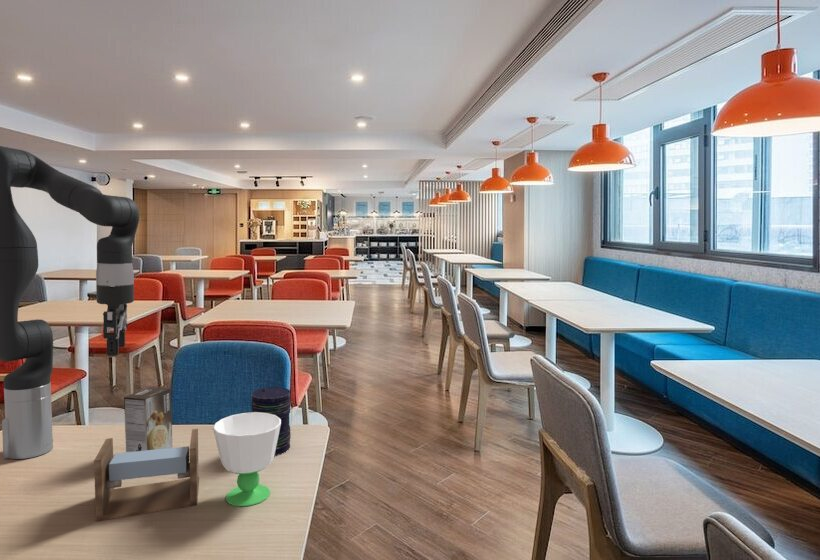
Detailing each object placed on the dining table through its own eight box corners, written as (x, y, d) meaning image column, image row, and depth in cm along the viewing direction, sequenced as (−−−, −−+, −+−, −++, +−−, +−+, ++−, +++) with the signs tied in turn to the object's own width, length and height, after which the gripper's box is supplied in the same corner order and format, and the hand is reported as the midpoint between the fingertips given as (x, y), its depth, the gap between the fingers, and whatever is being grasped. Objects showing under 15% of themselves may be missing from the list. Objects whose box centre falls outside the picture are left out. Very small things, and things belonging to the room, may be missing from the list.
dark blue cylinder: (298, 446, 131) (298, 391, 130) (269, 460, 122) (269, 401, 121) (272, 437, 136) (272, 384, 135) (243, 450, 128) (242, 393, 127)
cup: (293, 486, 110) (294, 416, 108) (255, 518, 97) (255, 440, 95) (242, 475, 114) (241, 408, 113) (199, 505, 101) (198, 430, 100)
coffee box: (151, 445, 129) (150, 385, 128) (173, 448, 128) (172, 387, 127) (124, 460, 120) (123, 396, 119) (147, 463, 119) (146, 398, 118)
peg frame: (95, 521, 95) (93, 460, 94) (107, 493, 105) (105, 438, 104) (197, 504, 101) (196, 448, 100) (199, 480, 111) (198, 428, 111)
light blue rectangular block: (109, 481, 98) (108, 464, 98) (116, 469, 103) (116, 453, 103) (186, 472, 102) (185, 456, 102) (189, 461, 107) (189, 446, 107)
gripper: (103, 279, 120) (104, 345, 121) (89, 285, 107) (90, 359, 108) (138, 279, 123) (139, 344, 124) (128, 285, 109) (129, 357, 111)
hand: (116, 351), depth 116 cm, fingers open, 8 cm apart
